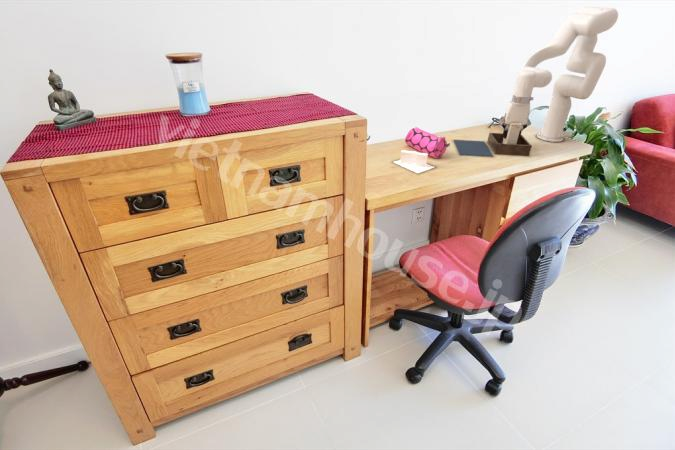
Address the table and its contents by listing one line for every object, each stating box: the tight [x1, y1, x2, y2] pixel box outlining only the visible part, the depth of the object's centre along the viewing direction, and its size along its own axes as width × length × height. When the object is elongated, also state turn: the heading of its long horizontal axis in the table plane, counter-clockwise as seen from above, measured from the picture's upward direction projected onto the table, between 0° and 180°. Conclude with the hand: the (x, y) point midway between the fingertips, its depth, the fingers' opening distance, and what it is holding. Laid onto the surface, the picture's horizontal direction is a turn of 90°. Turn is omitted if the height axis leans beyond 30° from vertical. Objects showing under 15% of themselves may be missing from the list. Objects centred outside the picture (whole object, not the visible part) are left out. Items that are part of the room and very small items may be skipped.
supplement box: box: [501, 123, 522, 145], centre depth 179 cm, size 8×5×13 cm, turn 169°
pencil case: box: [404, 126, 451, 159], centre depth 175 cm, size 21×10×10 cm, turn 35°
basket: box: [486, 132, 533, 157], centre depth 181 cm, size 16×17×5 cm
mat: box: [453, 139, 494, 158], centre depth 182 cm, size 15×20×1 cm
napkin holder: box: [392, 149, 435, 174], centre depth 162 cm, size 15×11×6 cm
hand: (510, 137), depth 179 cm, fingers closed on supplement box, 5 cm apart
